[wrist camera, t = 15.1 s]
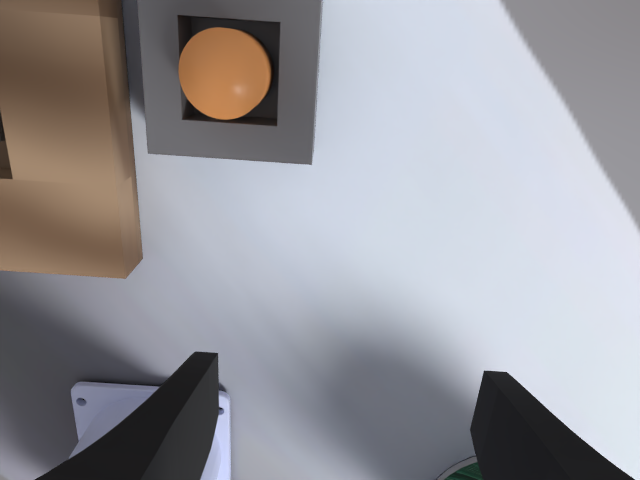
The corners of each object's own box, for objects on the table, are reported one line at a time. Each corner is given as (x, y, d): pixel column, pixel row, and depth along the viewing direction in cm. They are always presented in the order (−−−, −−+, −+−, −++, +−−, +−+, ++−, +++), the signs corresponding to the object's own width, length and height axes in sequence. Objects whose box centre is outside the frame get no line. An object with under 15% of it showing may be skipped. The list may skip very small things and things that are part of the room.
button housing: (313, 150, 20) (311, 164, 18) (168, 140, 20) (148, 153, 18) (323, -12, 18) (322, -20, 15) (160, -24, 18) (134, -33, 15)
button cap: (272, 112, 18) (265, 122, 16) (198, 107, 18) (180, 116, 16) (274, 32, 17) (267, 30, 15) (196, 26, 17) (176, 24, 15)
